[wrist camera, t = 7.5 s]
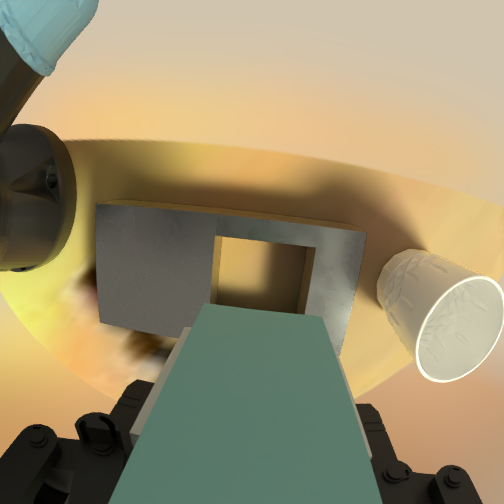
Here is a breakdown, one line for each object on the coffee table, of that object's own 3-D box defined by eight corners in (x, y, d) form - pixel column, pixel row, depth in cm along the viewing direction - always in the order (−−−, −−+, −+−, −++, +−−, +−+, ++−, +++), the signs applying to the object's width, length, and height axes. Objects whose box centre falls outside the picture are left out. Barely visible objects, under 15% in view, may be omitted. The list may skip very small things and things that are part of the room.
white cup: (388, 230, 24) (449, 260, 15) (453, 256, 25) (520, 291, 15) (356, 312, 26) (394, 376, 17) (422, 329, 27) (471, 386, 17)
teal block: (200, 393, 14) (145, 575, 4) (204, 302, 13) (102, 517, 3) (300, 404, 14) (317, 591, 4) (321, 316, 13) (391, 539, 3)
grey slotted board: (119, 304, 27) (99, 322, 23) (118, 199, 25) (96, 203, 21) (330, 333, 27) (339, 356, 23) (352, 224, 25) (366, 232, 21)
